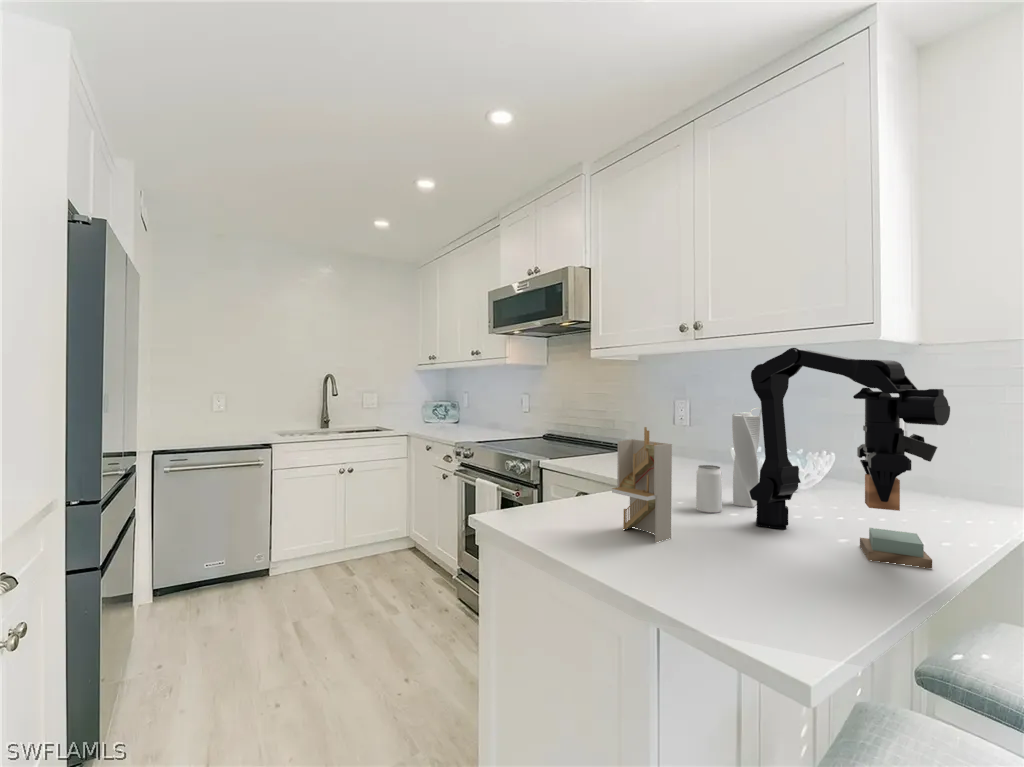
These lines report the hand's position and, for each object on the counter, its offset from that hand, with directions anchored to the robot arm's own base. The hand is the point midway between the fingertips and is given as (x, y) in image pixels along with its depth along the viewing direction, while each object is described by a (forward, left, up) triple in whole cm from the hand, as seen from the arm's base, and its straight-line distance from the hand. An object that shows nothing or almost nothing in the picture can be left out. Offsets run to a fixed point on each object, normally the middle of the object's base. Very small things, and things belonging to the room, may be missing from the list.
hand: (881, 498), depth 103 cm
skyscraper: (-26, +35, -12) cm, 45 cm away
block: (0, 0, -2) cm, 2 cm away
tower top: (+2, +1, -10) cm, 10 cm away
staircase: (-46, -7, -12) cm, 49 cm away
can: (-35, +23, -12) cm, 43 cm away
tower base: (+2, +1, -12) cm, 13 cm away
